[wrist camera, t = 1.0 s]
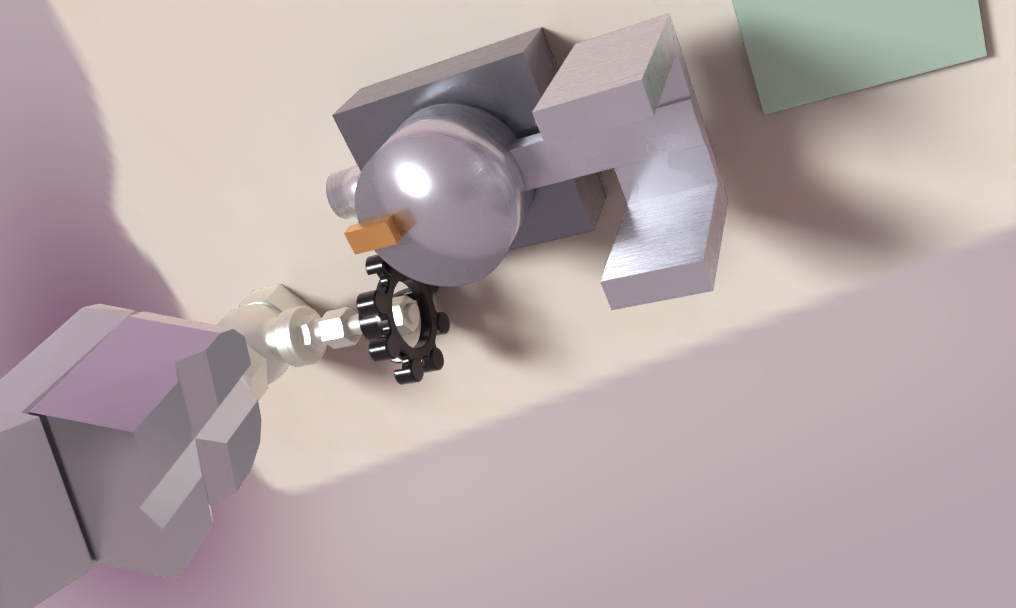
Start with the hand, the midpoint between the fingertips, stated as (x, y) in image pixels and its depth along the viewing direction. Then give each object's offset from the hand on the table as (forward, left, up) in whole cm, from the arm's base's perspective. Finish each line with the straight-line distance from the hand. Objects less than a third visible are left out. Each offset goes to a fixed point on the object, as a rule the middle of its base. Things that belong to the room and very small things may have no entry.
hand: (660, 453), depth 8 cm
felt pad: (-1, +5, -30) cm, 30 cm away
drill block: (+16, +7, -30) cm, 35 cm away
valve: (+26, +13, -30) cm, 42 cm away
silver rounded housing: (+11, +7, -27) cm, 30 cm away
